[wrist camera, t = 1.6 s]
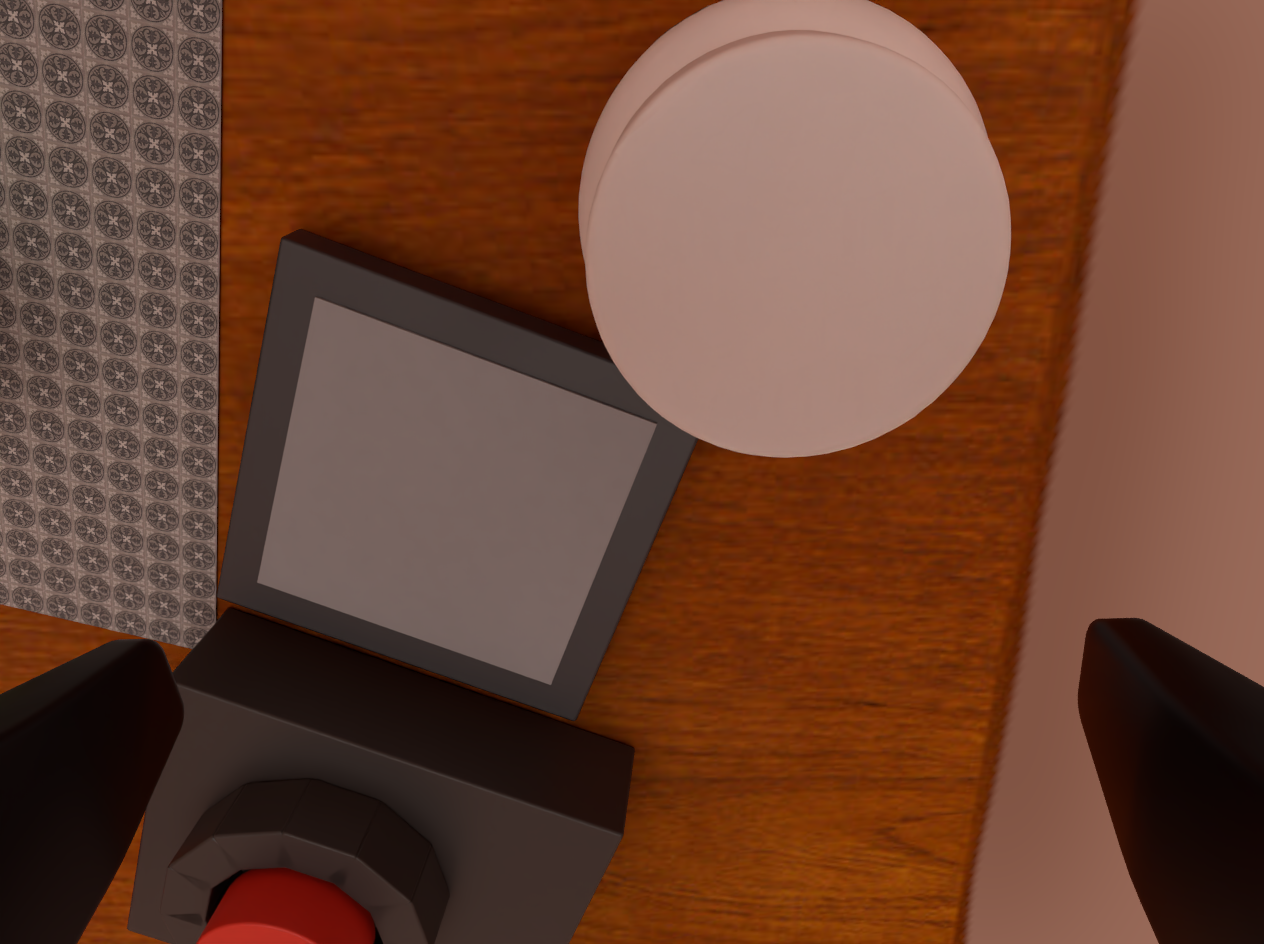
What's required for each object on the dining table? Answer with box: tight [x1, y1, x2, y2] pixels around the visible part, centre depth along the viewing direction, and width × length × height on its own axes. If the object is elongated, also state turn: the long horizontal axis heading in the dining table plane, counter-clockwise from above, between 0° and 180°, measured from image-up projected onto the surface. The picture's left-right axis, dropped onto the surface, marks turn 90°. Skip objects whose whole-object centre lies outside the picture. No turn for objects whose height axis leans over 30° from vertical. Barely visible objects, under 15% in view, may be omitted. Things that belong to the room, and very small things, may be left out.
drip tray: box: [217, 229, 698, 721], centre depth 23 cm, size 10×10×1 cm
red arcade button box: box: [127, 608, 635, 944], centre depth 26 cm, size 12×10×5 cm
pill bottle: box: [578, 0, 1011, 458], centre depth 15 cm, size 6×6×10 cm
